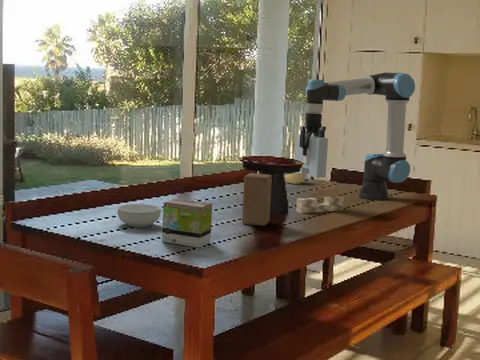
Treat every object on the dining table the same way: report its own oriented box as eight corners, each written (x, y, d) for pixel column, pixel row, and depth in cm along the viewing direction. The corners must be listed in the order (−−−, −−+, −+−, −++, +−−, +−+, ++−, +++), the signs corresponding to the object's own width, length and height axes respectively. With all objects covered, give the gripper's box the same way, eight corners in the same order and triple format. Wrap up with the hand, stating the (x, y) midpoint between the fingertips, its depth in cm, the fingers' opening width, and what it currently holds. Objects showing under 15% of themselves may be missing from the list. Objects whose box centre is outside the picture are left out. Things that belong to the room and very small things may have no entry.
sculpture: (299, 185, 411) (300, 166, 409) (280, 183, 417) (281, 164, 415) (307, 183, 421) (309, 165, 419) (289, 181, 427) (290, 162, 425)
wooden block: (265, 226, 295) (268, 177, 292) (241, 224, 297) (243, 175, 294) (269, 222, 305) (272, 174, 302) (246, 219, 307) (248, 172, 304)
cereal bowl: (121, 219, 294) (122, 202, 293) (162, 222, 294) (163, 204, 293) (113, 228, 277) (113, 210, 276) (156, 231, 277) (157, 212, 276)
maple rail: (337, 208, 344) (338, 196, 343) (343, 210, 341) (344, 197, 340) (296, 211, 331) (296, 198, 331) (301, 213, 328) (302, 200, 327)
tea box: (161, 242, 259) (162, 201, 257) (173, 237, 268) (175, 197, 266) (199, 248, 253) (201, 206, 251) (211, 242, 263) (213, 202, 261)
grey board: (294, 172, 350) (296, 134, 347) (303, 171, 353) (305, 134, 350) (316, 177, 335) (319, 138, 332) (325, 177, 337) (328, 138, 335)
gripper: (324, 112, 347) (321, 161, 350) (293, 111, 338) (290, 161, 341) (334, 113, 341) (330, 163, 344) (302, 113, 332) (299, 164, 335)
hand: (310, 162), depth 343 cm, fingers closed on grey board, 5 cm apart
